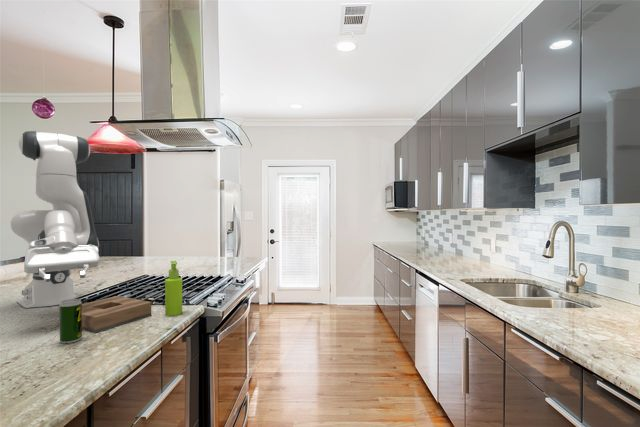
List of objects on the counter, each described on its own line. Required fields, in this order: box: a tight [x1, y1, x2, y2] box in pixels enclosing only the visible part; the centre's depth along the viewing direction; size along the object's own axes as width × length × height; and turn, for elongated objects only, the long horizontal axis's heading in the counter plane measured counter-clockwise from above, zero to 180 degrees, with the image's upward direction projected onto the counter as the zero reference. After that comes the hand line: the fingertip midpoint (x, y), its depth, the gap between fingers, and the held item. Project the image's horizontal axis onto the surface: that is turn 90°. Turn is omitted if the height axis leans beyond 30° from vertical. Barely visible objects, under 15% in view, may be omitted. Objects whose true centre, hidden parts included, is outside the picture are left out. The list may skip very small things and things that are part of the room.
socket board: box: [82, 295, 152, 334], centre depth 121 cm, size 20×20×5 cm
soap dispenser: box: [164, 260, 183, 317], centre depth 127 cm, size 6×7×20 cm
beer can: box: [58, 298, 83, 344], centre depth 101 cm, size 5×5×12 cm
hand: (65, 278), depth 110 cm, fingers open, 8 cm apart
